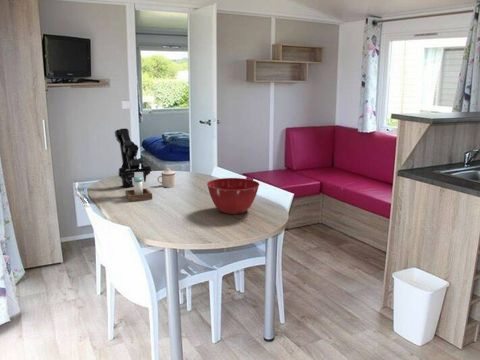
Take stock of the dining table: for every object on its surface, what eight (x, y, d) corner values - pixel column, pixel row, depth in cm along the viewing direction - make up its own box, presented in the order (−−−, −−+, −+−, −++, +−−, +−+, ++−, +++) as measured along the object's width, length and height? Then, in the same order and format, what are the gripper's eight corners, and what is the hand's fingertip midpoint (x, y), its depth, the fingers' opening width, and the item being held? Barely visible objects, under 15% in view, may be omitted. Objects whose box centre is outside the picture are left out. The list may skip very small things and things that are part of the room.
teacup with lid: (172, 183, 298) (172, 167, 296) (177, 186, 291) (176, 169, 288) (155, 185, 293) (155, 168, 290) (159, 188, 285) (159, 171, 282)
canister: (133, 197, 261) (132, 177, 258) (141, 196, 263) (141, 176, 260) (136, 200, 255) (135, 180, 252) (144, 199, 257) (143, 179, 254)
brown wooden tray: (125, 197, 263) (125, 190, 262) (147, 195, 269) (146, 188, 268) (130, 203, 252) (129, 195, 251) (152, 200, 257) (152, 193, 256)
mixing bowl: (223, 200, 259) (223, 175, 256) (267, 207, 246) (268, 180, 243) (197, 213, 235) (196, 185, 231) (244, 221, 222) (244, 192, 218)
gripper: (118, 154, 257) (122, 176, 250) (149, 152, 265) (155, 173, 257) (116, 165, 266) (120, 187, 258) (147, 163, 273) (152, 184, 266)
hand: (137, 182), depth 260 cm, fingers open, 9 cm apart
